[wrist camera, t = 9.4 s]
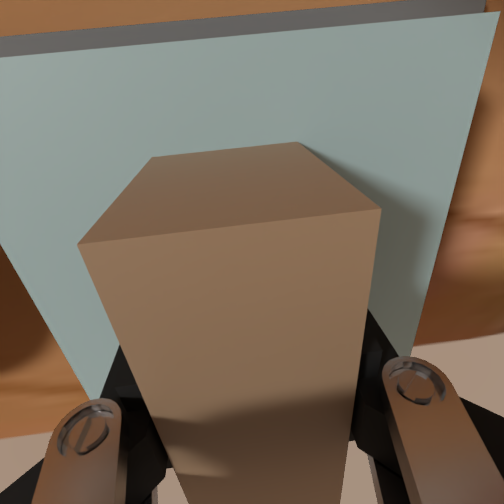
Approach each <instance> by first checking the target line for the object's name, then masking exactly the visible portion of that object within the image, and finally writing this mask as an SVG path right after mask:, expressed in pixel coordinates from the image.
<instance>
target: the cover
mask: <svg viewBox="0 0 504 504" xmlns="http://www.w3.org/2000/svg"><path fill="white" fill-rule="evenodd" d="M499 15H500V11H498V12H487V13H476V14H465V15H455V16H444V17H433V18H422V19H412V20H401V21H390V22H379V23H368V24H358V25H347V26H336V27H325V28H315V29H304V30H293V31H282V32H271V33H261V34H250V35H239V36H228V37H218V38H207V39H196V40H185V41H175V42H164V43H153V44H142V45H131V46H121V47H110V48H99V49H88V50H78V51H67V52H56V53H45V54H34V55H24V56H13V57H2V58H0V244H1V246H2V248H3V250H4V251H5V253H6V255H7V256H8V258H9V260H10V262H11V263H12V265H13V267H14V269H15V270H16V272H17V274H18V275H19V277H20V279H21V281H22V282H23V284H24V286H25V288H26V289H27V291H28V293H29V294H30V296H31V298H32V300H33V301H34V303H35V305H36V307H37V308H38V310H39V312H40V314H41V315H42V317H43V319H44V320H45V322H46V324H47V326H48V327H49V329H50V331H51V333H52V334H53V336H54V338H55V339H56V341H57V343H58V345H59V346H60V348H61V350H62V352H63V353H64V355H65V357H66V358H67V360H68V362H69V364H70V365H71V367H72V369H73V371H74V372H75V374H76V376H77V377H78V379H79V381H80V383H81V384H82V386H83V388H84V390H85V391H86V393H87V395H88V397H89V398H90V400H93V399H99V398H100V395H101V392H102V390H103V387H104V384H105V382H106V379H107V376H108V374H109V371H110V368H111V366H112V363H113V360H114V358H115V355H116V352H117V350H118V347H119V344H120V346H121V348H122V351H123V353H124V355H125V357H126V360H127V362H128V364H129V367H130V369H131V371H132V374H133V376H134V378H135V381H136V383H137V385H138V387H139V390H140V392H141V394H142V397H143V399H144V401H145V404H146V406H147V408H148V411H149V413H150V415H151V418H152V420H153V422H154V424H155V427H156V429H157V431H158V434H159V436H160V438H161V441H162V443H163V445H164V448H165V450H166V452H167V454H168V457H169V459H170V461H171V464H172V466H173V468H174V471H175V473H176V475H177V477H178V480H179V482H180V485H181V487H182V489H183V491H184V494H185V496H186V498H187V501H188V503H189V504H340V499H341V492H342V485H343V478H344V471H345V464H346V457H347V449H348V442H349V435H350V428H351V421H352V414H353V407H354V400H355V393H356V386H357V379H358V372H359V365H360V358H361V350H362V343H363V336H364V329H365V322H366V315H367V308H368V309H369V311H370V312H371V314H372V315H373V317H374V318H375V320H376V321H377V323H378V324H379V326H380V327H381V329H382V330H383V332H384V334H385V335H386V337H387V338H388V340H389V341H390V343H391V344H392V346H393V347H394V349H395V350H396V352H397V354H398V355H399V357H402V356H409V357H410V355H411V351H412V347H413V343H414V340H415V336H416V332H417V328H418V324H419V320H420V317H421V313H422V309H423V305H424V301H425V298H426V294H427V290H428V286H429V282H430V278H431V275H432V271H433V267H434V263H435V259H436V256H437V252H438V248H439V244H440V240H441V236H442V233H443V229H444V225H445V221H446V217H447V214H448V210H449V206H450V202H451V198H452V194H453V191H454V187H455V183H456V179H457V175H458V172H459V168H460V164H461V160H462V156H463V152H464V149H465V145H466V141H467V137H468V133H469V130H470V126H471V122H472V118H473V114H474V110H475V107H476V103H477V99H478V95H479V91H480V88H481V84H482V80H483V76H484V72H485V68H486V65H487V61H488V57H489V53H490V49H491V46H492V42H493V38H494V34H495V30H496V26H497V23H498V19H499Z"/></svg>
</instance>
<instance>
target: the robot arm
mask: <svg viewBox="0 0 504 504" xmlns="http://www.w3.org/2000/svg"><path fill="white" fill-rule="evenodd" d="M353 440H355V441H356V444H357V447H358V448H359V449H361V450H362V451H364V452H365V453H367V455H368V460H369V465H370V469H371V474H372V478H373V483H374V487H375V492H376V497H377V502H378V504H504V417H502V416H500V415H497V414H495V413H493V412H491V411H489V410H487V409H485V408H482V407H480V406H478V405H476V404H473V403H472V402H469V401H467V400H465V399H463V398H461V397H459V396H458V394H457V393H456V391H455V389H454V387H453V385H452V383H451V382H450V381H449V379H448V378H447V376H446V375H445V374H444V373H443V372H442V371H441V370H440V369H438V368H437V367H436V366H434V365H432V364H431V363H429V362H427V361H425V360H422V359H419V358H416V357H409V356H402V357H399V355H398V354H397V352H396V350H395V349H394V347H393V346H392V344H391V343H390V341H389V340H388V338H387V337H386V335H385V334H384V332H383V330H382V329H381V327H380V326H379V324H378V323H377V321H376V320H375V318H374V317H373V315H372V314H371V312H370V311H369V309H368V308H367V315H366V322H365V329H364V336H363V343H362V350H361V358H360V365H359V372H358V379H357V386H356V393H355V400H354V407H353V414H352V421H351V428H350V435H349V441H353ZM167 468H173V466H172V464H171V461H170V459H169V457H168V454H167V452H166V450H165V448H164V445H163V443H162V441H161V438H160V436H159V434H158V431H157V429H156V427H155V424H154V422H153V420H152V418H151V415H150V413H149V411H148V408H147V406H146V404H145V401H144V399H143V397H142V394H141V392H140V390H139V387H138V385H137V383H136V381H135V378H134V376H133V374H132V371H131V369H130V367H129V364H128V362H127V360H126V357H125V355H124V353H123V351H122V348H121V346H120V344H119V347H118V350H117V352H116V355H115V358H114V360H113V363H112V366H111V368H110V371H109V374H108V376H107V379H106V382H105V384H104V387H103V390H102V392H101V395H100V398H99V399H93V400H90V401H87V402H85V403H83V404H81V405H79V406H78V407H76V408H75V409H73V410H71V411H70V412H69V413H68V414H67V415H66V416H65V417H64V418H63V419H62V420H61V421H60V423H59V424H58V425H57V427H56V428H55V429H54V431H53V434H52V436H51V439H50V441H49V444H48V448H47V451H46V454H45V457H44V458H43V459H42V460H41V461H40V462H38V463H37V464H36V465H35V466H34V467H32V468H31V469H30V470H29V471H27V472H26V473H25V474H24V475H22V476H21V477H20V478H19V479H17V480H16V481H15V482H14V483H12V484H11V485H10V486H9V487H8V488H6V489H5V490H4V491H3V492H1V493H0V504H158V495H157V485H158V484H159V483H160V482H161V481H162V480H163V479H164V477H165V474H166V469H167Z"/></svg>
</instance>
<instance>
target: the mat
mask: <svg viewBox="0 0 504 504" xmlns="http://www.w3.org/2000/svg"><path fill="white" fill-rule="evenodd" d="M485 4H486V0H407V1H396V2H385V3H373V4H362V5H351V6H340V7H329V8H317V9H306V10H295V11H284V12H273V13H261V14H250V15H239V16H228V17H217V18H205V19H194V20H183V21H172V22H161V23H149V24H138V25H127V26H116V27H105V28H93V29H82V30H71V31H60V32H49V33H37V34H26V35H15V36H4V37H0V58H2V57H13V56H24V55H34V54H45V53H56V52H67V51H78V50H88V49H99V48H110V47H121V46H131V45H142V44H153V43H164V42H175V41H185V40H196V39H207V38H218V37H228V36H239V35H250V34H261V33H271V32H282V31H293V30H304V29H315V28H325V27H336V26H347V25H358V24H368V23H379V22H390V21H401V20H412V19H422V18H433V17H444V16H455V15H465V14H476V13H483V12H484V8H485Z"/></svg>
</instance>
